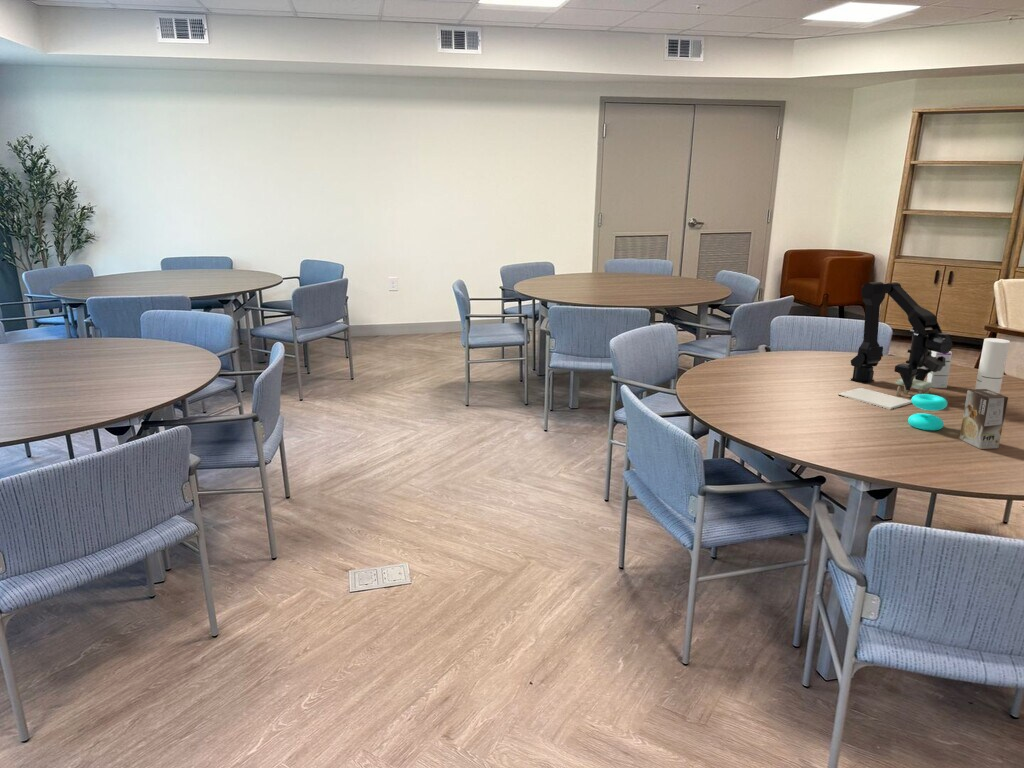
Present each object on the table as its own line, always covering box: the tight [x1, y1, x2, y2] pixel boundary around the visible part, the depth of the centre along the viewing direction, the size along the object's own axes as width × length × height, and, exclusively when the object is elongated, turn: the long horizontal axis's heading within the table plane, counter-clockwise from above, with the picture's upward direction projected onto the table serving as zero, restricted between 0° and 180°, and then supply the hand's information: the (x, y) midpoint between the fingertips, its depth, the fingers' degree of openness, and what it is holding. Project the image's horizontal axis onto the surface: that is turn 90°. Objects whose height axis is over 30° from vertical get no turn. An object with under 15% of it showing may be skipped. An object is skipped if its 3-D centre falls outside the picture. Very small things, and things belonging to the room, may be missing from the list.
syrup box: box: [925, 350, 953, 389], centre depth 261 cm, size 6×6×14 cm
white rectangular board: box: [837, 387, 913, 410], centre depth 248 cm, size 20×14×1 cm
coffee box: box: [959, 388, 1009, 450], centre depth 203 cm, size 9×6×16 cm
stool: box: [895, 378, 933, 397], centre depth 249 cm, size 10×6×6 cm, turn 31°
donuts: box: [907, 393, 948, 431], centre depth 218 cm, size 10×10×10 cm
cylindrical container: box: [974, 337, 1011, 394], centre depth 231 cm, size 7×7×25 cm
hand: (913, 388), depth 249 cm, fingers closed on stool, 6 cm apart
